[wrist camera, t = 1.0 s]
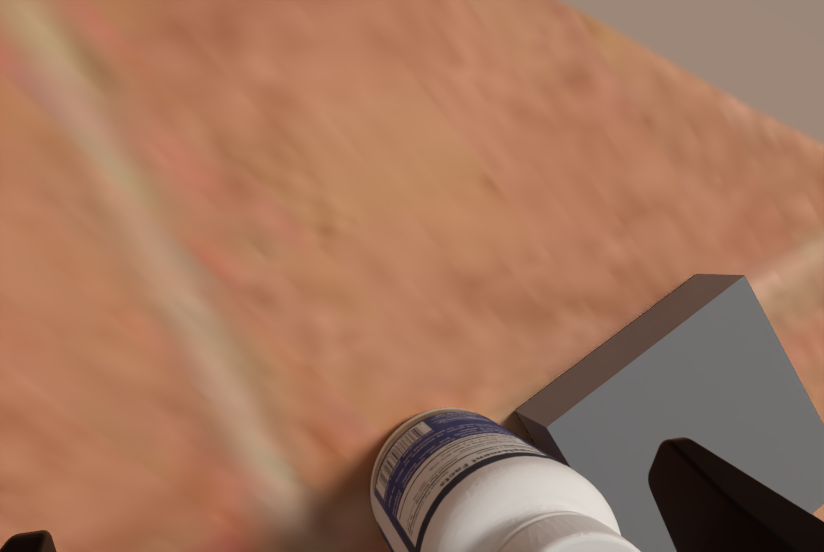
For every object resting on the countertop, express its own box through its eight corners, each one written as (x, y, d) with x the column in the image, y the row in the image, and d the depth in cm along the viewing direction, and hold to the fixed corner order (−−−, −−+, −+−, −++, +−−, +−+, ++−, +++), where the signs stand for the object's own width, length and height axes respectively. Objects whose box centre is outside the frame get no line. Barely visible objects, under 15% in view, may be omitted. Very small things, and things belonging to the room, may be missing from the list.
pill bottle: (524, 534, 24) (712, 713, 14) (380, 576, 23) (484, 801, 13) (503, 389, 24) (681, 475, 14) (356, 421, 22) (444, 540, 13)
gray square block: (796, 458, 27) (851, 478, 24) (632, 601, 25) (674, 637, 23) (696, 273, 25) (744, 275, 23) (514, 410, 24) (546, 427, 21)
